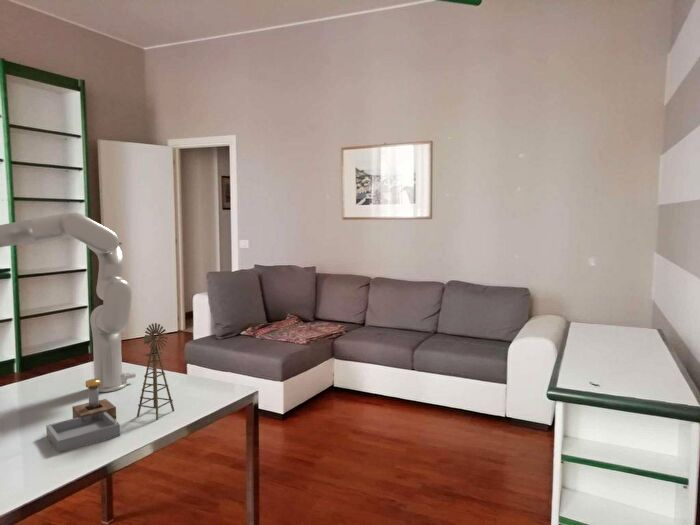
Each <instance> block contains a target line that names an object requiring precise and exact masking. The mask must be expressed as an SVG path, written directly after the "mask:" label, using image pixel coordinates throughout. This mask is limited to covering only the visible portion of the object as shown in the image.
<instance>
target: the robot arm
mask: <svg viewBox="0 0 700 525" xmlns="http://www.w3.org/2000/svg"><path fill="white" fill-rule="evenodd" d="M68 238H73V239H76V240H77V241H79V242H81V243H83V244H85V245H86V247H88V249H89V250H91V251H93V252H94V254H95V255H96V256H97V259H98V274H97V284H96V290H95V292H96V295H97V297H98V298H99V299H100V300H102V301H103V302H102V303H103V304H101V305H98V306H97V307H95V308H94V309H93V310H92V311H91V314H90V323H89V324H90V329H91V334H92V350H93V353H92V354H93V375H94V376H93V379H100V381H101V385H100V386H98V393H109V392H113V391H118V390H121V389H123V388H125V387H126V386H127V385H128V381H127V380H129V379H130V380H131V379H134V378H135V379H136V377H137V376H136V372H131V373H130V372H126V373H124V372H123V364H122V363H123V362H122V361H123V360H122V359H123V358H122V357H123V356H122V336H121V333H122V332H124V330H125V329H126V328H127V326H128V324H129V321H130V314H131V306H132V298H133V296H132V295H133V294H132V293H133V291H132V287H131V284H130V283H129V282H128V281H127V280H125V279H124V272H125V271H124V270H125V257H124V254H123V251H122V249H121V248H120V246H119V245H120V239H119V236H118V235H117V234H116V233H115V232H114V231H113V230H111V229H109V228H108V227H105V226H103V225H102V224H100V223H98V222H97V221H95V220H93V219H92V218H90V217H88V216H86V215H83V214H82V213H78V212H65V213H59V214H54V215H46V216H40V217H33V218H27V219H23V220H19V221H15V222H9V223H4V224H0V248H4V247H10V246H18V245H21V246H22V245H23V246H25V245H26V246H27V245H36V244H41V243H46V242H52V241H56V240H57V241H58V240H62V239H68Z"/></svg>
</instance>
